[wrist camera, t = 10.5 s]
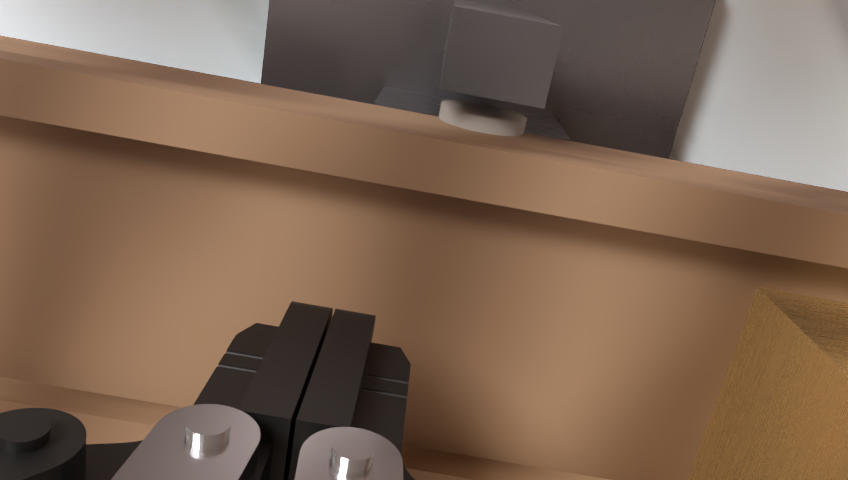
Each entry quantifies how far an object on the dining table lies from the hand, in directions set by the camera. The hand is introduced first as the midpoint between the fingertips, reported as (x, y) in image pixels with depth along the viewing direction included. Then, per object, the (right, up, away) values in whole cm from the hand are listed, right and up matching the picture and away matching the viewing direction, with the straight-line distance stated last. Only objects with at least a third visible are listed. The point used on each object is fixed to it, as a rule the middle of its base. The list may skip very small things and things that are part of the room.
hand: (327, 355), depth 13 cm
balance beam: (+2, +2, +7) cm, 7 cm away
